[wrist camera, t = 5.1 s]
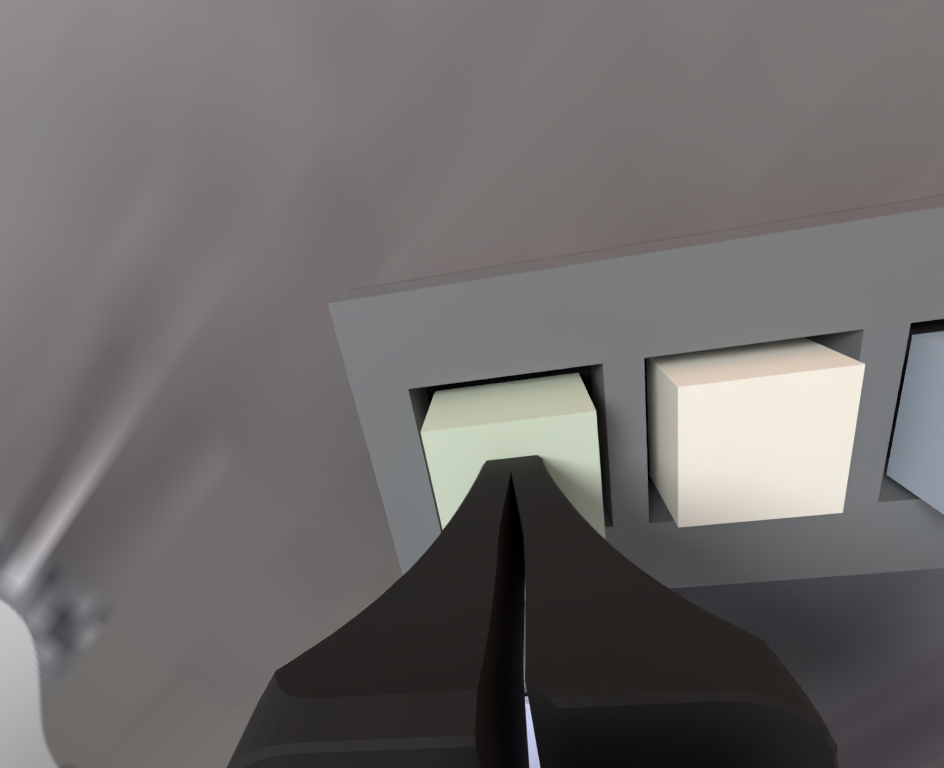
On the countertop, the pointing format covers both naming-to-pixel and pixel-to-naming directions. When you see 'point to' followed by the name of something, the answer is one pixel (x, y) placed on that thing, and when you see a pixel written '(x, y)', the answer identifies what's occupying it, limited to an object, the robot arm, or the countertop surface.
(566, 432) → the sage key
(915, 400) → the slate key
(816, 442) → the cream key
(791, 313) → the grey slotted tray
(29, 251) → the countertop surface
